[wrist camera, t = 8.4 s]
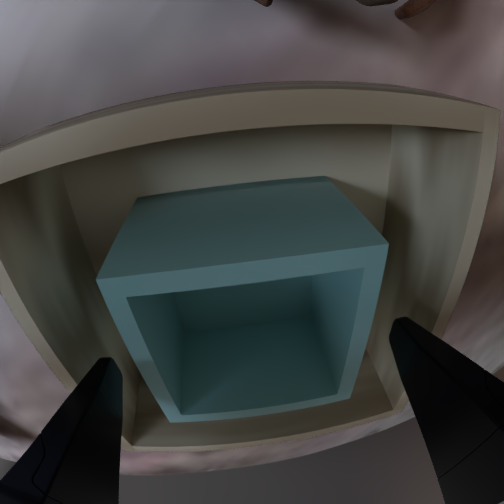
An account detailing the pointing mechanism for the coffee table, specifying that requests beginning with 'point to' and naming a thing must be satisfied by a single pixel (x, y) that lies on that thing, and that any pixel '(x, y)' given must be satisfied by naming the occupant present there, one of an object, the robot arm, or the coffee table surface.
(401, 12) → the brown leather pouch belt
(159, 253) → the small crate
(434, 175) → the big crate
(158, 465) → the coffee table surface
